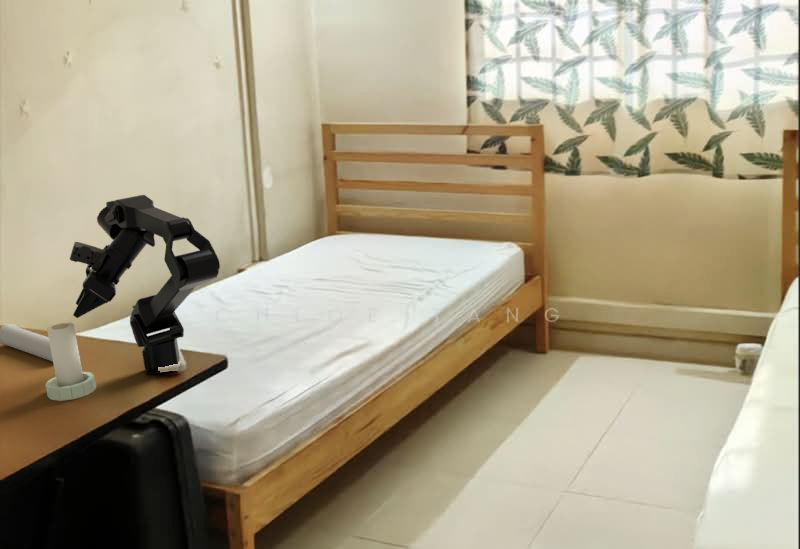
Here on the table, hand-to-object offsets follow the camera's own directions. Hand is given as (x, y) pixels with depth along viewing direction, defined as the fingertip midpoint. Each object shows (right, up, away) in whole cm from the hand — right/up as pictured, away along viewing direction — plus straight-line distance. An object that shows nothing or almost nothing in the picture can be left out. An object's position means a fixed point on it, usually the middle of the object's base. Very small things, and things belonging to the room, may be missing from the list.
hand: (76, 310), depth 202 cm
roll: (+1, -15, -7) cm, 17 cm away
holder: (+1, -16, -7) cm, 17 cm away
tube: (-15, -11, +20) cm, 27 cm away
